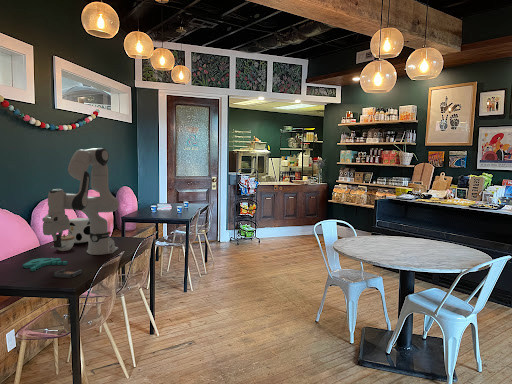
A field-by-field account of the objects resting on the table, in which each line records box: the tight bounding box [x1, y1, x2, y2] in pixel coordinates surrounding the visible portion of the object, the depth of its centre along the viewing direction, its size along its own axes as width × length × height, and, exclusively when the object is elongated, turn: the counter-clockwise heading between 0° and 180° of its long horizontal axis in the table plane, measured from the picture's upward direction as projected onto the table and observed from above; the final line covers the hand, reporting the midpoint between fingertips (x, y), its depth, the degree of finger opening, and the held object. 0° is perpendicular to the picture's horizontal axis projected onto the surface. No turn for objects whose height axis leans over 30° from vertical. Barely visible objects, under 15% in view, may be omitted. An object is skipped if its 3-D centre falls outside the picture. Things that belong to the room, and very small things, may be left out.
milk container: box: [67, 217, 90, 245], centre depth 290 cm, size 17×17×18 cm
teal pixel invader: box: [22, 257, 69, 272], centre depth 229 cm, size 20×2×20 cm
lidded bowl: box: [58, 233, 75, 252], centre depth 267 cm, size 13×13×11 cm
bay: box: [52, 268, 83, 279], centre depth 209 cm, size 9×11×2 cm
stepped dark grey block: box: [49, 233, 65, 250], centre depth 222 cm, size 4×7×8 cm, turn 84°
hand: (57, 239), depth 222 cm, fingers closed on stepped dark grey block, 2 cm apart
